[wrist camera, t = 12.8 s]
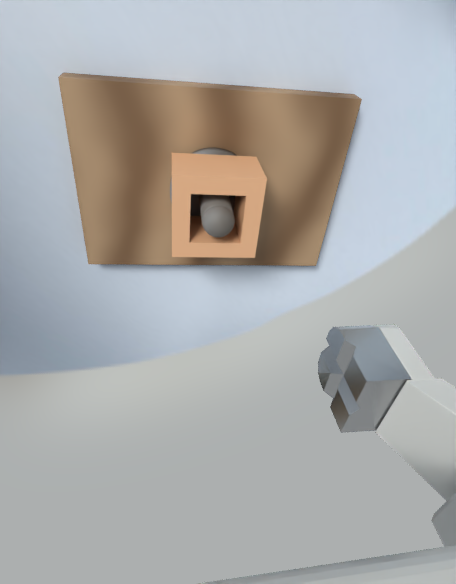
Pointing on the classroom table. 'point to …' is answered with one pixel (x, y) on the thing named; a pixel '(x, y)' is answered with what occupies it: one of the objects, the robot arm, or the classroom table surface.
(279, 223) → the stand
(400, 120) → the classroom table surface
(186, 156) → the square frame block
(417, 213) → the classroom table surface
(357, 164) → the classroom table surface
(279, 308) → the classroom table surface
